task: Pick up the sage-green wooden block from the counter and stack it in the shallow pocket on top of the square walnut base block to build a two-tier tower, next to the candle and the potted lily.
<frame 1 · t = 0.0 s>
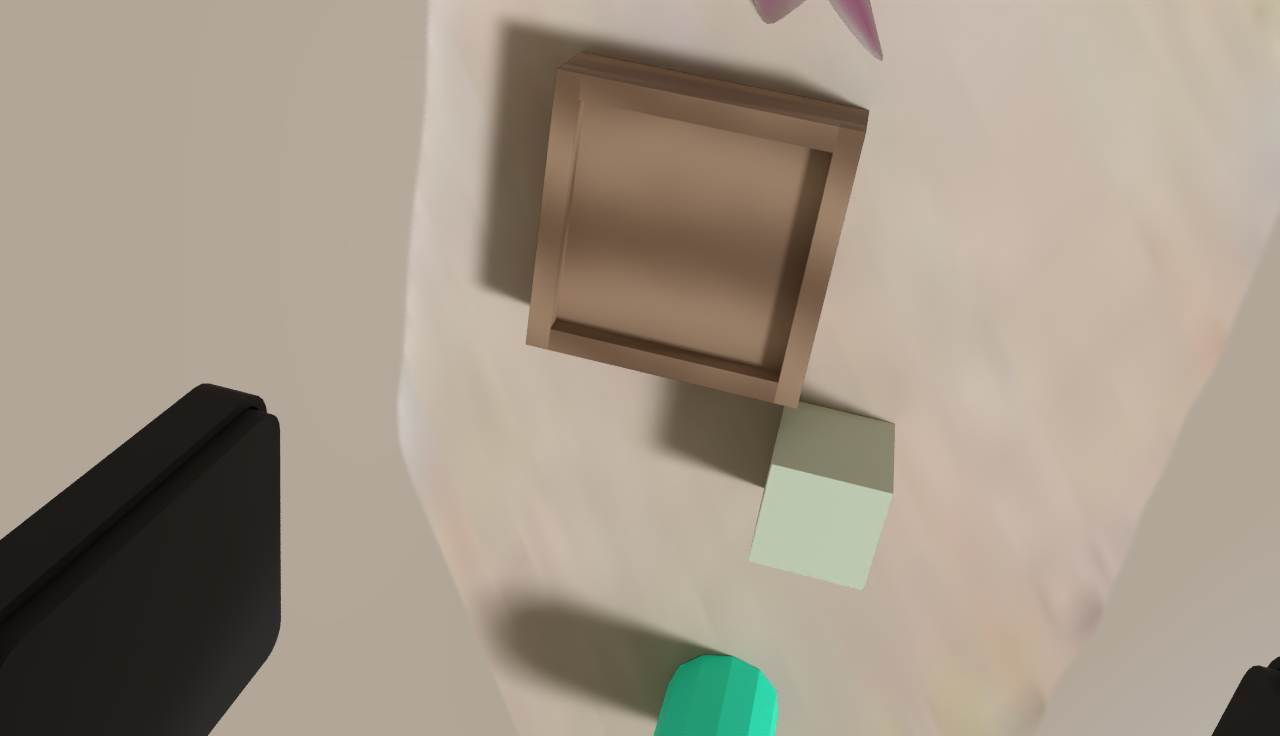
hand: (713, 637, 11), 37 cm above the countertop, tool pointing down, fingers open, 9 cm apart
sage block: (827, 456, 51), on the countertop
base block: (699, 215, 48), on the countertop
candle: (723, 696, 59), on the countertop
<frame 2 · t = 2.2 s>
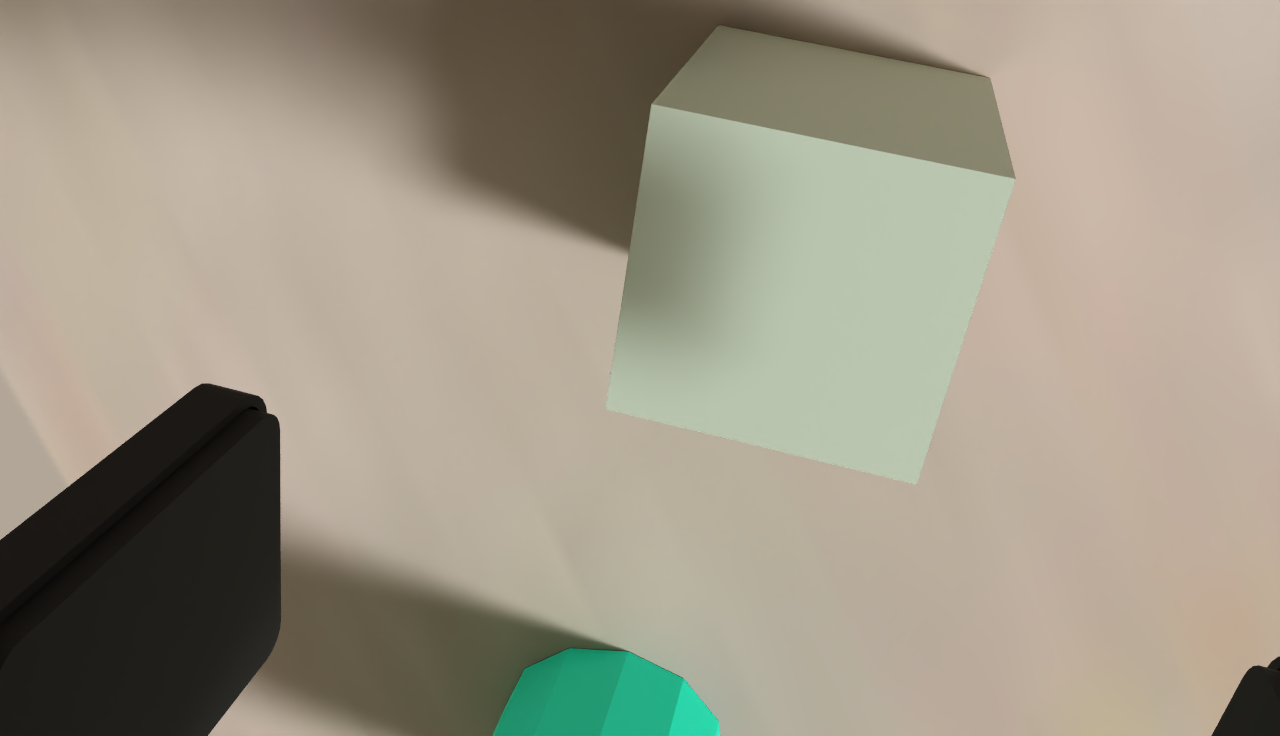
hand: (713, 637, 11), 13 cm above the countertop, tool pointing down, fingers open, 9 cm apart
sage block: (822, 180, 21), on the countertop
candle: (615, 729, 30), on the countertop
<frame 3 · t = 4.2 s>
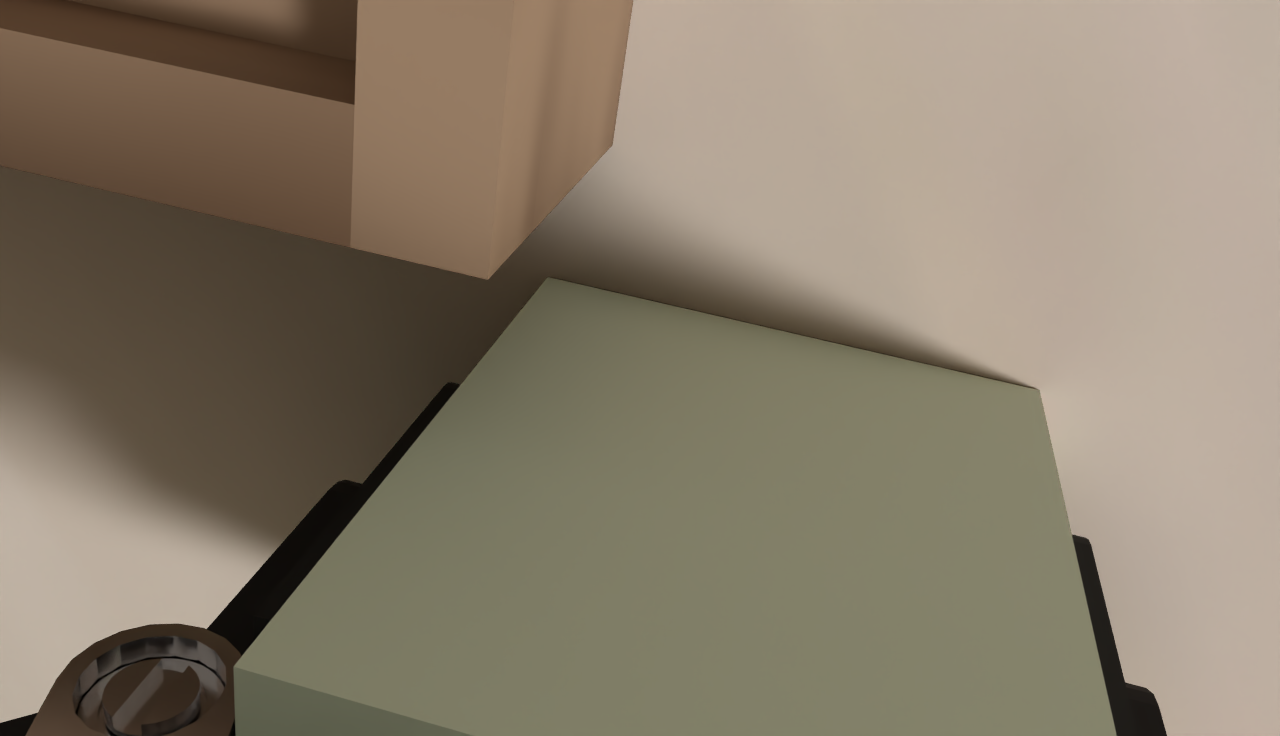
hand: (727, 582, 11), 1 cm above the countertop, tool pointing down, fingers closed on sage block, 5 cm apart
sage block: (739, 533, 12), on the countertop, touching gripper
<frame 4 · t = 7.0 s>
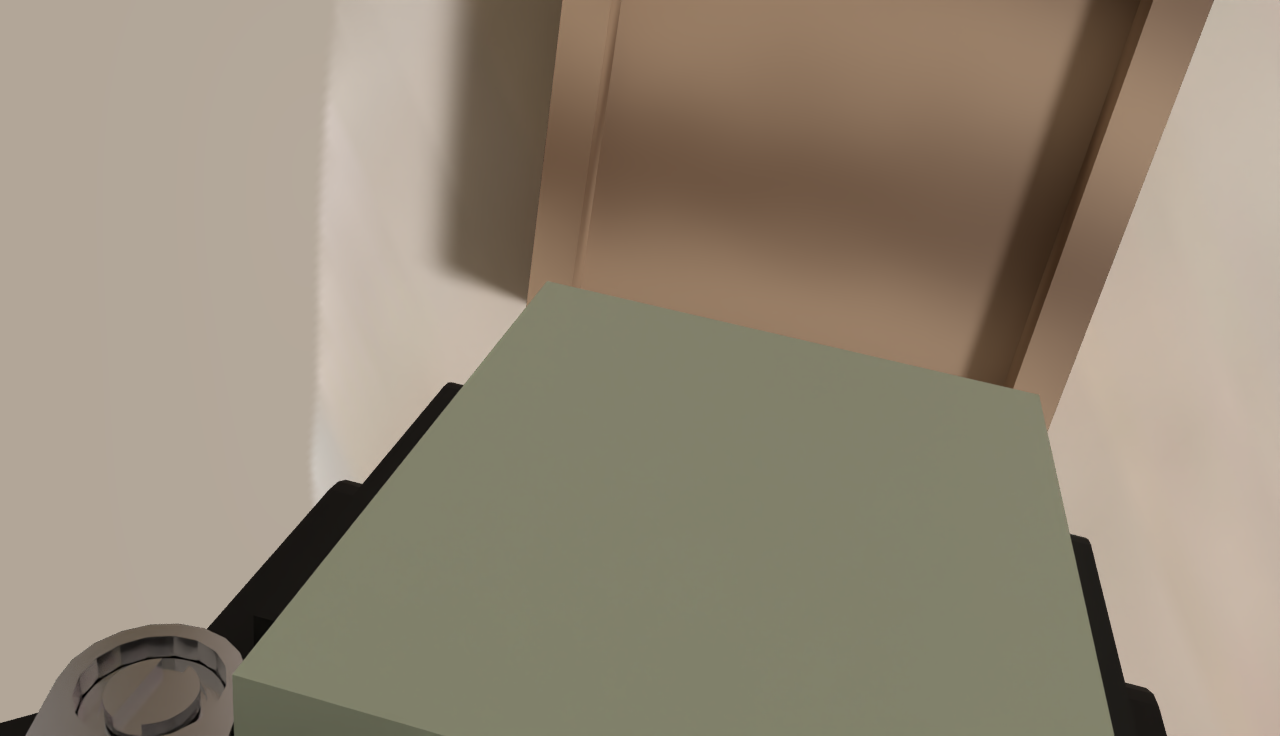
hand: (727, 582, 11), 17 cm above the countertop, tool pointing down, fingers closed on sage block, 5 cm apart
sage block: (738, 536, 12), point 16 cm above the countertop, touching gripper
base block: (834, 142, 27), on the countertop
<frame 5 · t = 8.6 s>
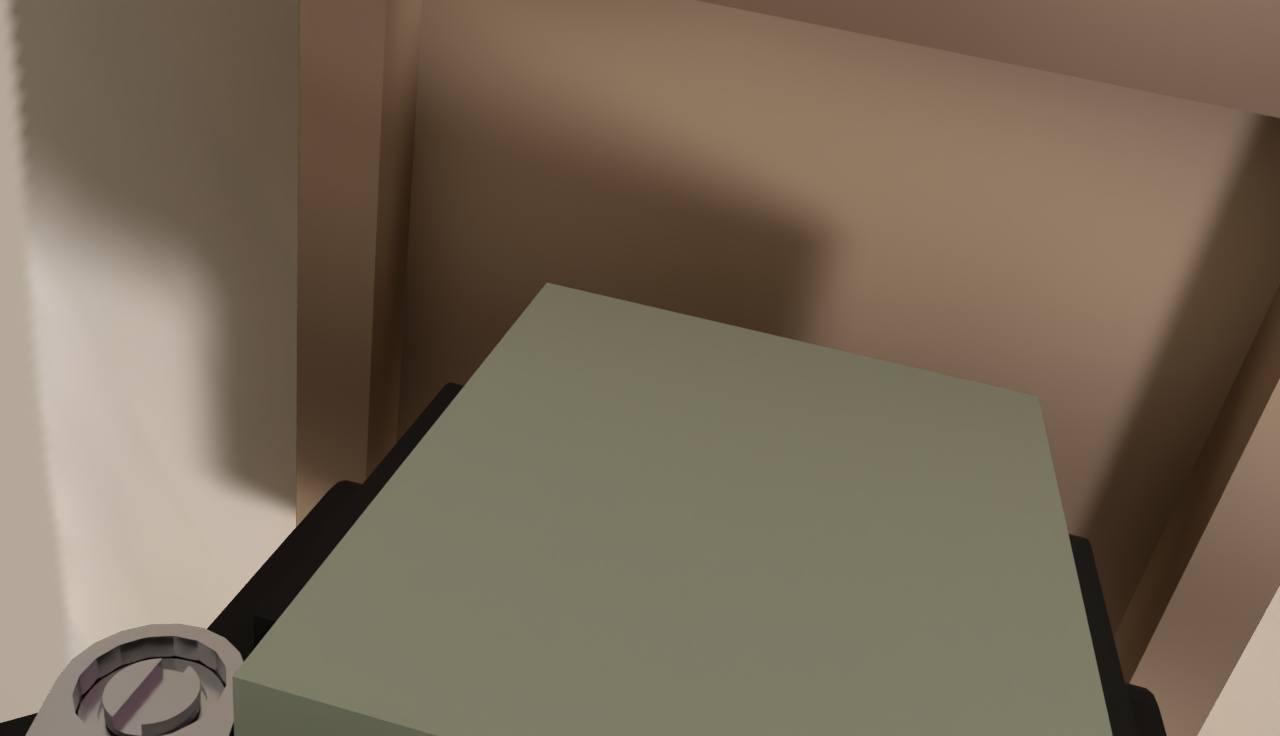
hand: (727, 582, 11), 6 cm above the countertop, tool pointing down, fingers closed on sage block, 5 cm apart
sage block: (738, 538, 12), point 5 cm above the countertop, touching gripper
base block: (793, 322, 17), on the countertop
when the fingers open (5 cm above the countertop, at t = 9.8 s): sage block drops 1 cm, resting on base block.
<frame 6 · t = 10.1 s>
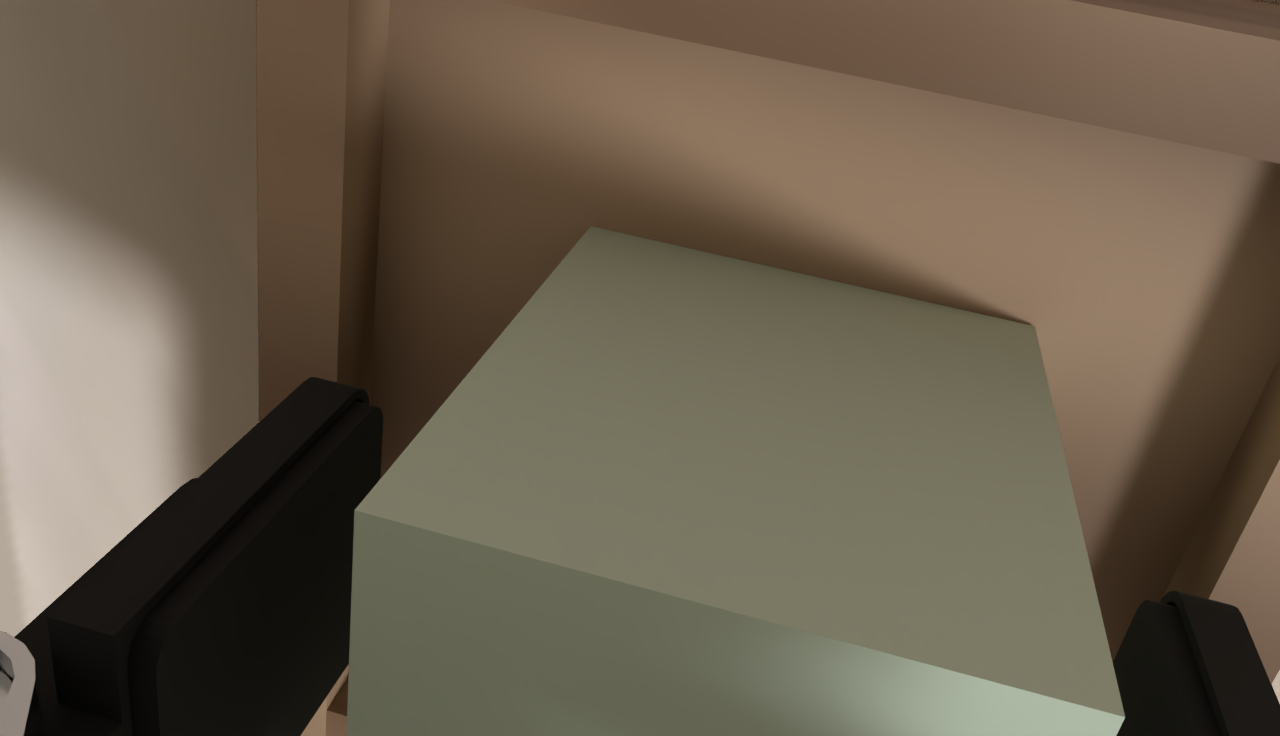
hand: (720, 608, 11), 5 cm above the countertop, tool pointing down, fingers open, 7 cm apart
sage block: (761, 463, 13), point 2 cm above the countertop, touching base block
base block: (780, 362, 16), on the countertop, touching sage block
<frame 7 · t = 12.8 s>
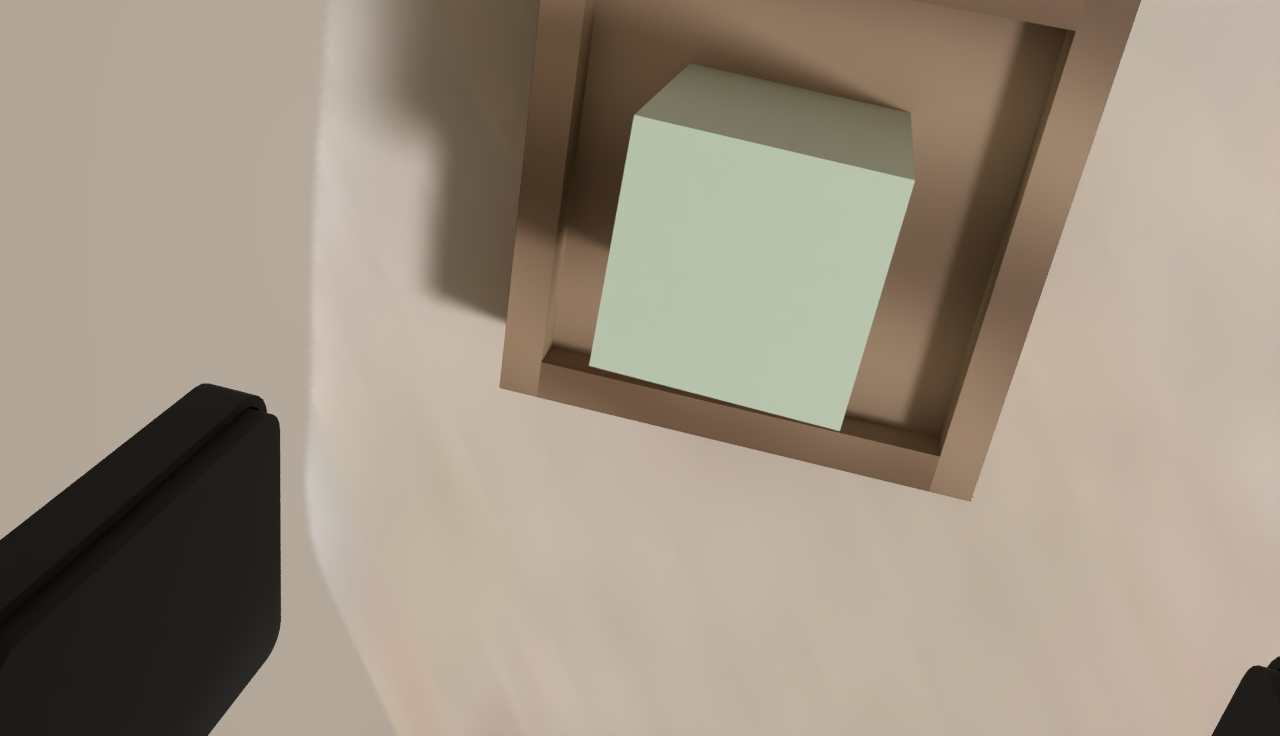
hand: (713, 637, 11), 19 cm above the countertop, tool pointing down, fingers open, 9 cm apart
sage block: (773, 194, 26), point 2 cm above the countertop, touching base block
base block: (793, 170, 28), on the countertop, touching sage block
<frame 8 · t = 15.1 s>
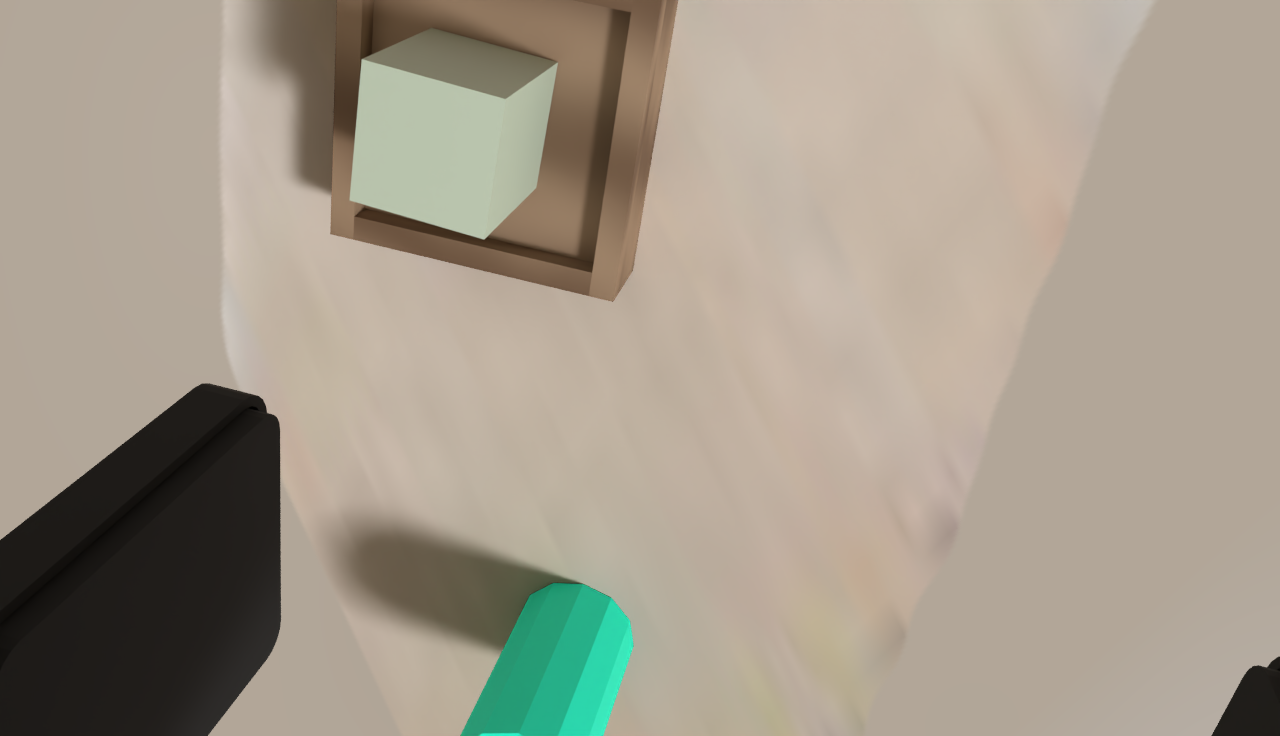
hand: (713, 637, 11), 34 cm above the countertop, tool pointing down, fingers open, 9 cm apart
sage block: (485, 109, 42), point 2 cm above the countertop
base block: (516, 98, 45), on the countertop
candle: (577, 628, 56), on the countertop
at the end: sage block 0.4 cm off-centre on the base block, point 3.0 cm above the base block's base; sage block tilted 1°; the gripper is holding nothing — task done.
